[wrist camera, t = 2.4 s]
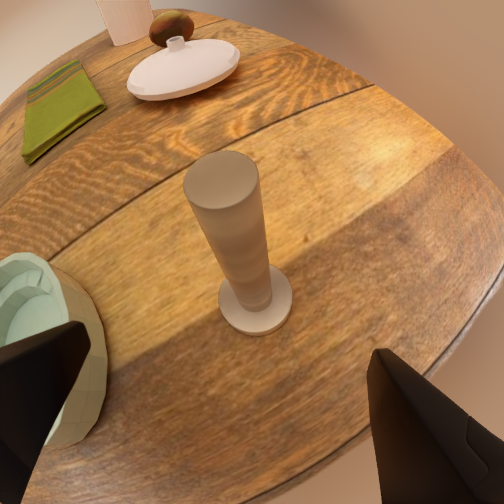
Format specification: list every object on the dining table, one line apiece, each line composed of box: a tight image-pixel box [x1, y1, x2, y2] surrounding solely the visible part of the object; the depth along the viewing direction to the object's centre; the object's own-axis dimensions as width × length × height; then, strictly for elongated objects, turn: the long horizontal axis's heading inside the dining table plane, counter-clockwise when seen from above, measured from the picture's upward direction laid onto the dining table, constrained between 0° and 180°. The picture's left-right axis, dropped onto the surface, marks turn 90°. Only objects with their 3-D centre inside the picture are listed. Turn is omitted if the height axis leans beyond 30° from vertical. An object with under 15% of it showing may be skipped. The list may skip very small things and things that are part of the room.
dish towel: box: [21, 59, 106, 165], centre depth 38 cm, size 15×36×3 cm, turn 37°
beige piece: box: [183, 151, 293, 336], centre depth 14 cm, size 5×5×13 cm
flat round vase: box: [127, 36, 240, 101], centre depth 30 cm, size 16×16×7 cm
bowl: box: [0, 252, 108, 452], centre depth 16 cm, size 16×16×5 cm
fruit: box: [149, 10, 194, 47], centre depth 37 cm, size 8×8×8 cm
